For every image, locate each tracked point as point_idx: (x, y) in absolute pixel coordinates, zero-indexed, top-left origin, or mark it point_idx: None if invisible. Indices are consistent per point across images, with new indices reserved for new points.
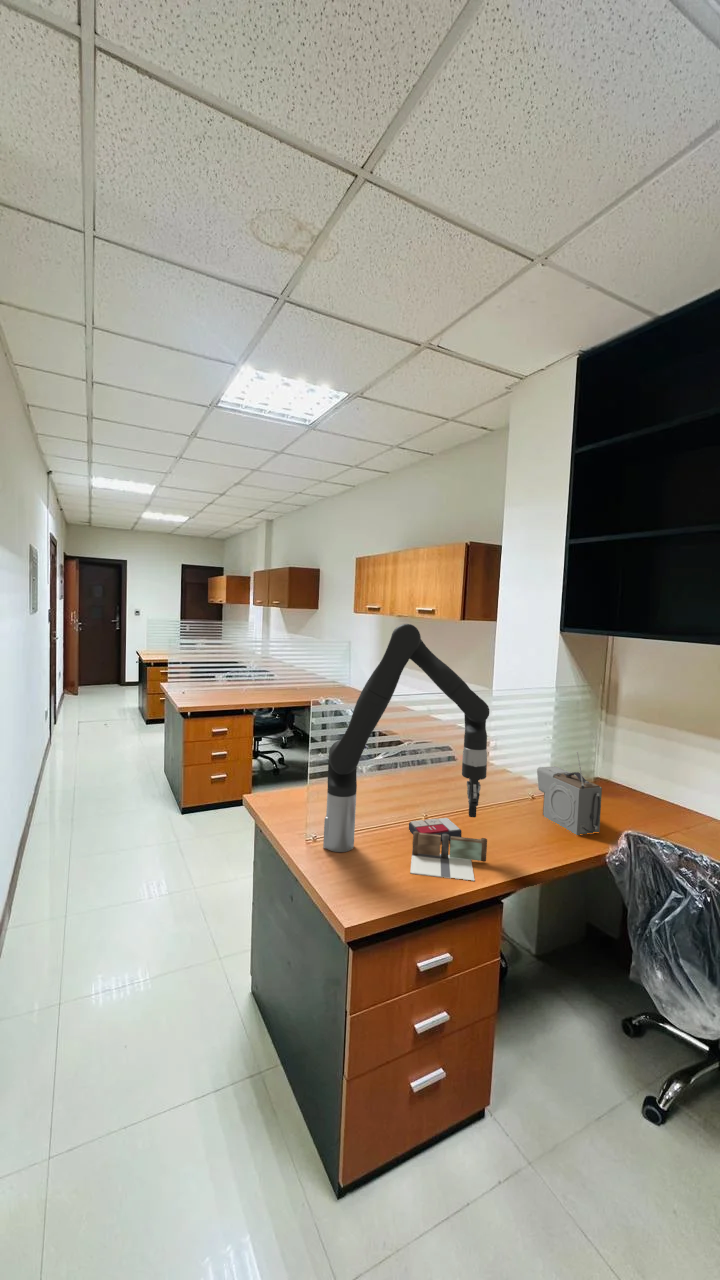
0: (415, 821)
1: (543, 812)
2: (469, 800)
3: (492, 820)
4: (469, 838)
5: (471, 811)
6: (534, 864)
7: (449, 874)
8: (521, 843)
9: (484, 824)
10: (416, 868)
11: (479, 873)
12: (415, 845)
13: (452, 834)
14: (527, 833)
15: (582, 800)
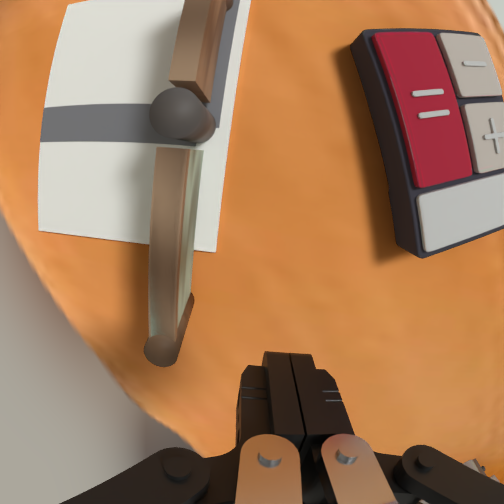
0: (485, 56)
1: (477, 464)
2: (235, 497)
3: (500, 369)
4: (171, 274)
5: (240, 403)
6: (211, 437)
7: (55, 139)
8: (355, 433)
9: (489, 348)
10: (93, 17)
11: (94, 260)
12: None
13: (404, 206)
14: (411, 444)
15: None
